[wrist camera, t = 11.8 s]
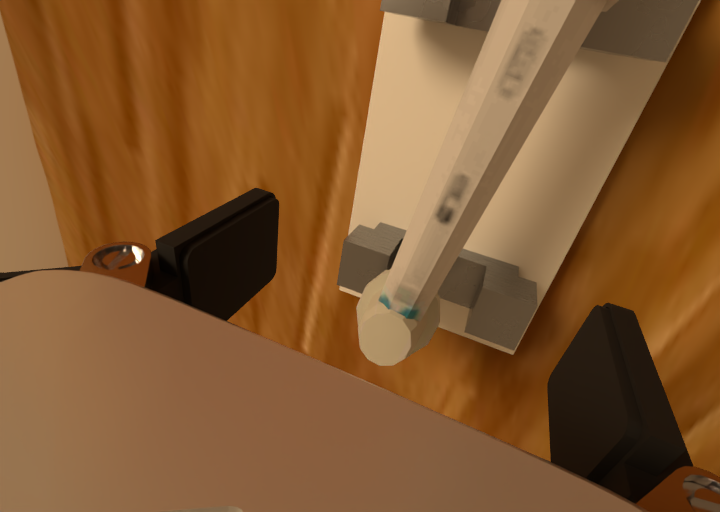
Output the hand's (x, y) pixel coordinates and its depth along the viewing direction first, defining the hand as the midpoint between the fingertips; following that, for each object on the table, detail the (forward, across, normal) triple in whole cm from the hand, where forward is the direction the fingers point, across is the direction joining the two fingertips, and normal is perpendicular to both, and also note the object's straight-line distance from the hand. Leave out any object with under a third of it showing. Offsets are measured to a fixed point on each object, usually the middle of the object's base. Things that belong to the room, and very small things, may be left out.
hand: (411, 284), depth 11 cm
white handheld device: (+13, 0, 0) cm, 13 cm away
